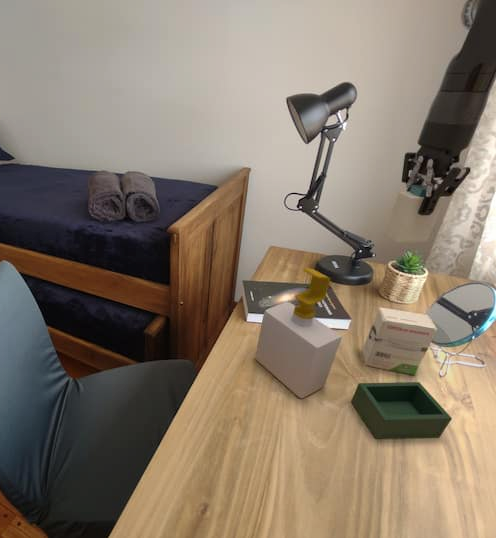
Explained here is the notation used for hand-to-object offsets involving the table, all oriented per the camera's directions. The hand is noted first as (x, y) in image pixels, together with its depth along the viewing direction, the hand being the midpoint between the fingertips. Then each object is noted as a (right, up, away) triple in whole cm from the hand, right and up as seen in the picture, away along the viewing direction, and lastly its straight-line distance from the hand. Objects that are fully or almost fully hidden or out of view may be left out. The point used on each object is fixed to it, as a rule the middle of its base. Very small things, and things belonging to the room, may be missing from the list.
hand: (415, 210), depth 72 cm
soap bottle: (-26, -33, -1) cm, 42 cm away
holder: (-12, -38, -11) cm, 41 cm away
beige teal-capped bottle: (0, -5, +3) cm, 6 cm away
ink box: (-5, -31, +1) cm, 32 cm away
